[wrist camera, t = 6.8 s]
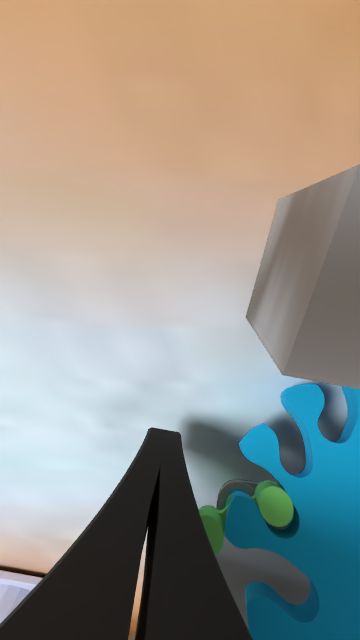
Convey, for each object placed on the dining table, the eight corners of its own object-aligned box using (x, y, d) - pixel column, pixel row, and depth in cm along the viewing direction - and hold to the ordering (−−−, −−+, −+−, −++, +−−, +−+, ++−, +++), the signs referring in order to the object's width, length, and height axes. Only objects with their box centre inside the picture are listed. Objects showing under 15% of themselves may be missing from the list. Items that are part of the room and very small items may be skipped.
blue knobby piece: (569, 373, 7) (1042, 1179, 3) (426, 401, 12) (525, 710, 8) (199, 357, 9) (169, 808, 5) (209, 387, 15) (198, 624, 10)
